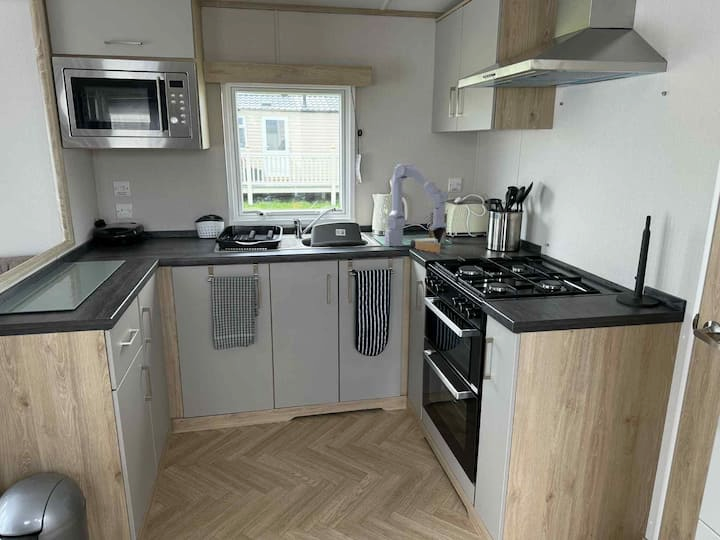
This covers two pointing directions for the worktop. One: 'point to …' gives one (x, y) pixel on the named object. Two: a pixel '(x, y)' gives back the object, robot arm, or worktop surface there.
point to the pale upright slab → (426, 240)
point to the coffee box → (443, 238)
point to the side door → (429, 246)
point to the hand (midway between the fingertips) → (437, 242)
